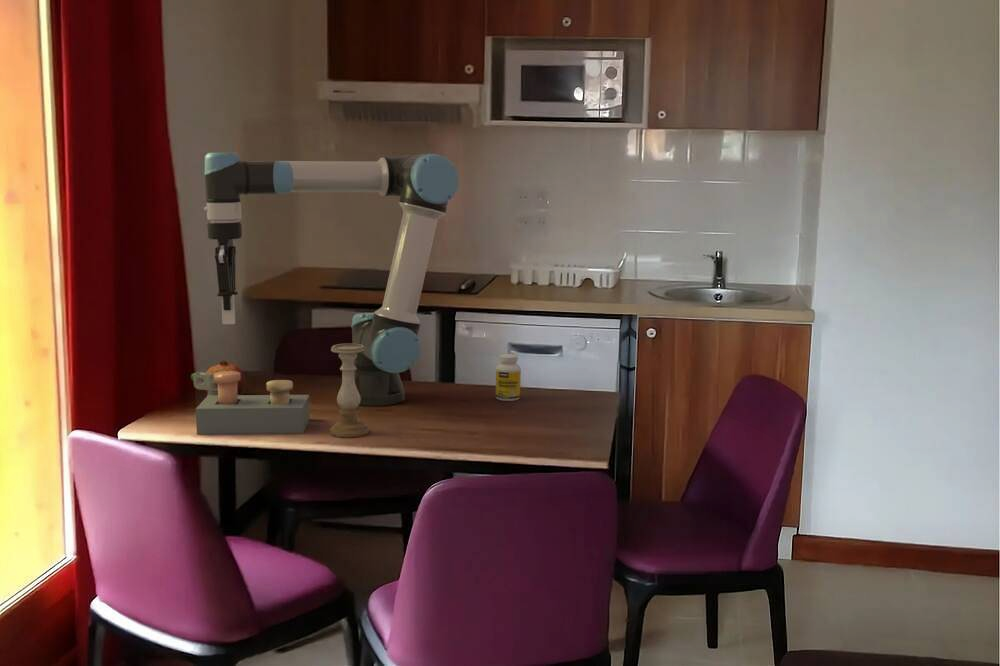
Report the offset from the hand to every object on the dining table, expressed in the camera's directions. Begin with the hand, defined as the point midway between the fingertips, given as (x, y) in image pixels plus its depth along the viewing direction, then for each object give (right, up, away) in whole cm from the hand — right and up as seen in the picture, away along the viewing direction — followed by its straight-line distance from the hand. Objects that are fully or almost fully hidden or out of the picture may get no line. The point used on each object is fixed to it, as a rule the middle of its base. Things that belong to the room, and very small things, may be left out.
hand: (228, 323), depth 236 cm
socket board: (+5, -24, +4) cm, 25 cm away
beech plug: (+11, -23, +4) cm, 26 cm away
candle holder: (+28, -25, -1) cm, 38 cm away
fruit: (-9, -19, +32) cm, 38 cm away
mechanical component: (-8, -22, +16) cm, 28 cm away
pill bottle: (+65, -20, +34) cm, 76 cm away
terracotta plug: (-1, -21, +3) cm, 21 cm away
